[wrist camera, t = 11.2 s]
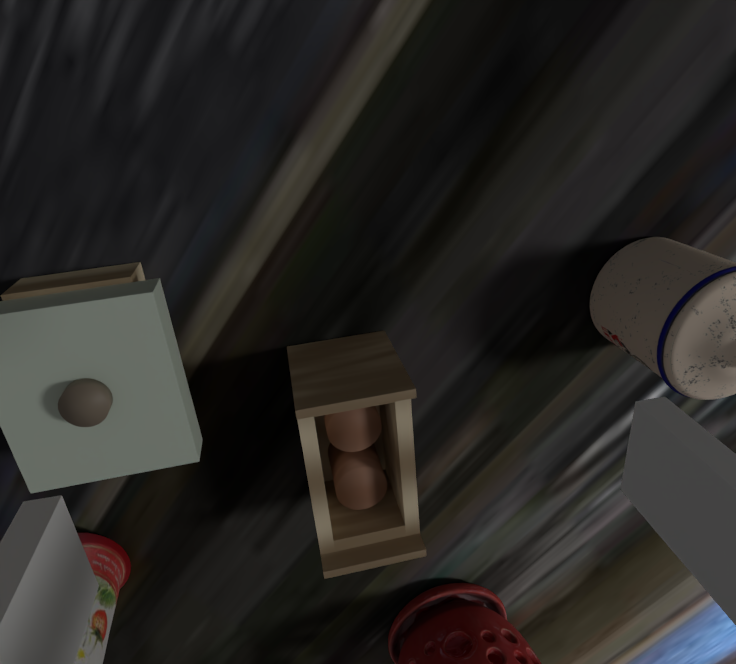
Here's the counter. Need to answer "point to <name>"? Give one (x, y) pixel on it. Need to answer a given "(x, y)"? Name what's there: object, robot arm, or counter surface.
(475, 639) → the plant pot
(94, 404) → the lid
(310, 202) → the counter surface
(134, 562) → the counter surface
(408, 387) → the wooden box
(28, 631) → the robot arm
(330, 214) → the counter surface
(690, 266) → the teacup with lid
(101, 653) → the liquor
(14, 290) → the stand
